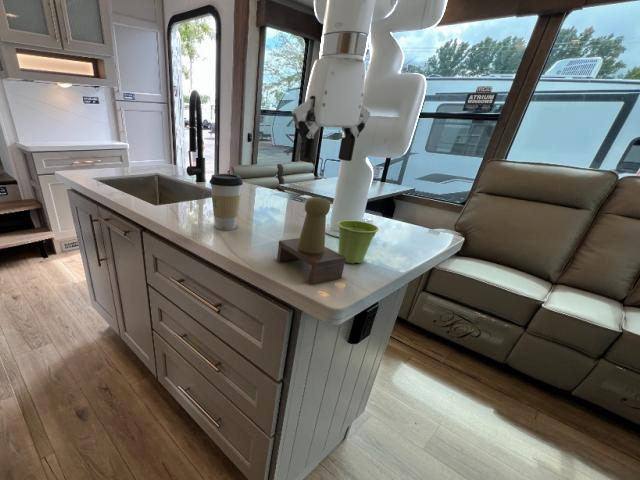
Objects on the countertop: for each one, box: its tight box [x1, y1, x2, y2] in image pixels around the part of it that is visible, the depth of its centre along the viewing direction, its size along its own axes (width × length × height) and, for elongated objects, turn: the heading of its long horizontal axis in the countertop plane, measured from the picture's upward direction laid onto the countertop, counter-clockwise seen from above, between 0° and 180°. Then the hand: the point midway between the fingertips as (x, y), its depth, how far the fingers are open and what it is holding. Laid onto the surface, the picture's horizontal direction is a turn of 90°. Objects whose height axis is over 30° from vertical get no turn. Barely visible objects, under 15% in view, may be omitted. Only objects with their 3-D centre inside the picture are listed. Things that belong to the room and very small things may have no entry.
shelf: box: [276, 237, 346, 285], centre depth 72 cm, size 8×14×5 cm, turn 26°
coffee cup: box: [209, 173, 244, 231], centre depth 95 cm, size 10×10×15 cm
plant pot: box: [337, 220, 380, 264], centre depth 77 cm, size 9×9×9 cm
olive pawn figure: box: [297, 196, 331, 253], centre depth 68 cm, size 6×6×11 cm
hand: (325, 160), depth 62 cm, fingers open, 9 cm apart
